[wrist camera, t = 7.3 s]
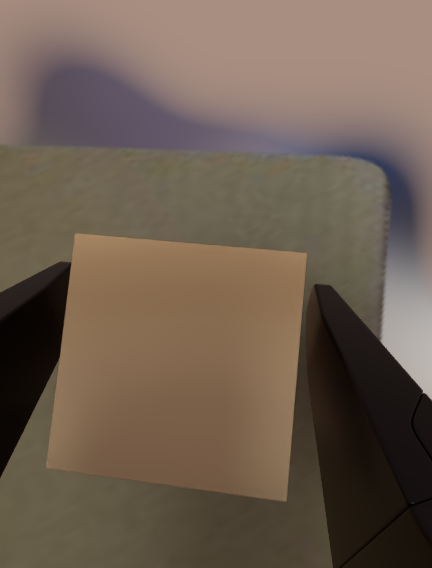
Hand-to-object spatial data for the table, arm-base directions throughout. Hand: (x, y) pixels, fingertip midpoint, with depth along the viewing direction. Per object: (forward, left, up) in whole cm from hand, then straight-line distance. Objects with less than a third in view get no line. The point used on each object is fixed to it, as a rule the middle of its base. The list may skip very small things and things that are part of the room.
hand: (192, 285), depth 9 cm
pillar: (-1, 0, -8) cm, 8 cm away
